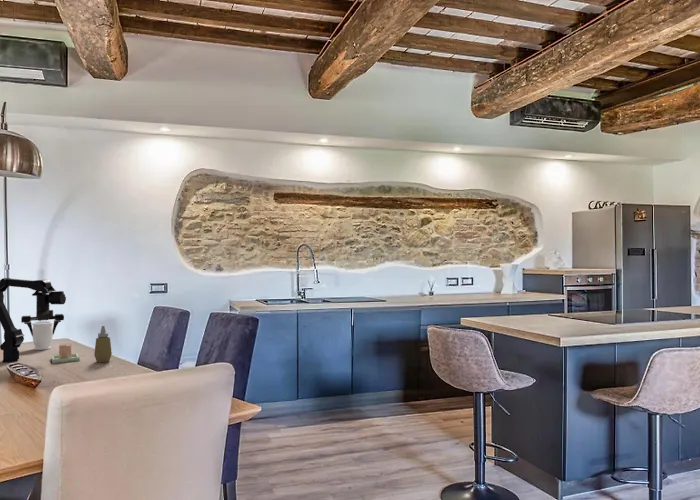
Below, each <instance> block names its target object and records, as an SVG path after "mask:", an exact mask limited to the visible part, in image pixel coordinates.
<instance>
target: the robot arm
mask: <svg viewBox="0 0 700 500" xmlns="http://www.w3.org/2000/svg"><path fill="white" fill-rule="evenodd" d="M9 287H13V288H14V287H16V288H25V289H30V290H33V291H34V292H33V293H32V294H31V296H32V297H33V296H34V297H36V312H35V313H36V314H35V315H36V316H31V315H22V316H21V321H20V322H21V323H23V324H24V325H26V326H28V329H29V331H30V335H31V336H33V331H32V329H33V325H32V321H37V322H42V321H49V320H50V321H51V320H53V324H52V327H53V335H54V334H55V331H56V329H57V326H58V324H59V323H61V322H62V321H65V315H64V314H63V313H56V314H54V310H53V309H50V305H65V303H66V301H67V297H66V294H65V293H64V292H65V291H63V290H57V291H56V289H55V288H54V286H53V285H52V283H51V281H50V280H49V279H37V280H31V279H29V280H28V279H19V278H18V279H17V278H11V277H4V278H3V277H2V278H1V279H0V325H1V327H2V329H3V331H4V333H3V339H4V341H3V342H1V344H0V351H2V363H8V361H11V362H19V359H20V350H19V348H20V347H21V345H22V344H23V343H24V340H25V338H24V337H25V334H24V333H23V330H22V328H19V329H18V328H16V326H15V324H14V323H13V320H12V318H11V315H10V314H9V311H8V309H7V307H6V305H5V302H4V300H5V299H4V298H5V295H4V292H6V291H7V289H8V288H9Z"/></svg>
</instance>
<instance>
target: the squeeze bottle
mask: <svg viewBox="0 0 700 500" xmlns="http://www.w3.org/2000/svg"><path fill="white" fill-rule="evenodd" d="M111 344H112V343H111V337H110V336H109V332H106V328H105V325H102V326H101V328H100V332H99V333H97V337H96V338H95V344H94V345H95V346H94V358H95V361H96V363H101V364H102V362H103V363H108V362H110V360H111V357H112V353H113V352H112V346H111Z"/></svg>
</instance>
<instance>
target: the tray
mask: <svg viewBox="0 0 700 500" xmlns="http://www.w3.org/2000/svg"><path fill="white" fill-rule="evenodd" d="M80 360H81V359H80V356H79V354H78V353H71V358H63V359H59V354H58V355H56V354H55V355H51V362H52V364H61V363H70V362H72V363H73V362H80Z"/></svg>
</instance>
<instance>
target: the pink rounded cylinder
mask: <svg viewBox="0 0 700 500" xmlns="http://www.w3.org/2000/svg"><path fill="white" fill-rule="evenodd" d="M72 347H73V346H72V343H71V344H70V343H67V344H59V345H58V355H59V359H63V358H71V354H72V350H73V349H72Z"/></svg>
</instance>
